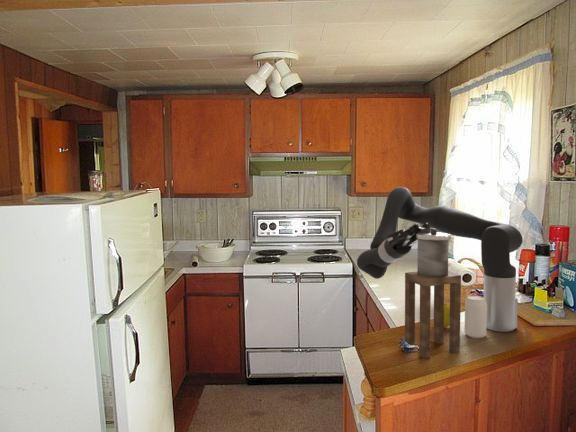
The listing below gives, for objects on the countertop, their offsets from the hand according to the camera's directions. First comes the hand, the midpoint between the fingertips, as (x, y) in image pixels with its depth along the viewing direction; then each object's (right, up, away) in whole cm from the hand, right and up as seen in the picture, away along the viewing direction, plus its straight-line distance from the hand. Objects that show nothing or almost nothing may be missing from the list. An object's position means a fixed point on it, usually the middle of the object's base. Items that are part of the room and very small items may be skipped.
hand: (422, 226), depth 130 cm
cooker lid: (+1, -3, -2) cm, 4 cm away
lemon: (+12, -34, +16) cm, 39 cm away
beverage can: (+19, -34, +9) cm, 40 cm away
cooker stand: (+2, -35, -1) cm, 35 cm away
